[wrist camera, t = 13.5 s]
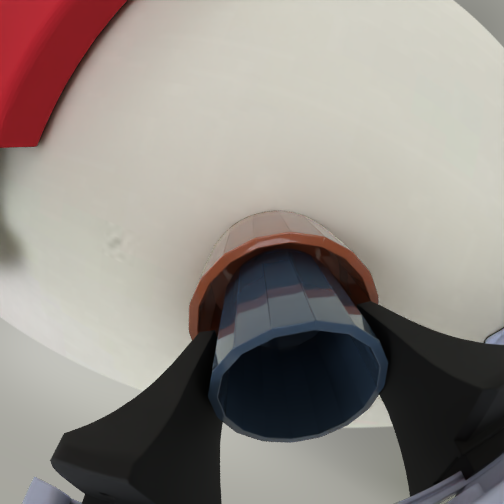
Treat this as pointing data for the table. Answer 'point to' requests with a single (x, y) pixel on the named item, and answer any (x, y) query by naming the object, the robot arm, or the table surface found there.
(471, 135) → the table surface
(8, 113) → the red flat box
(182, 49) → the table surface
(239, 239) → the terracotta tumbler
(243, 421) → the blue cup
